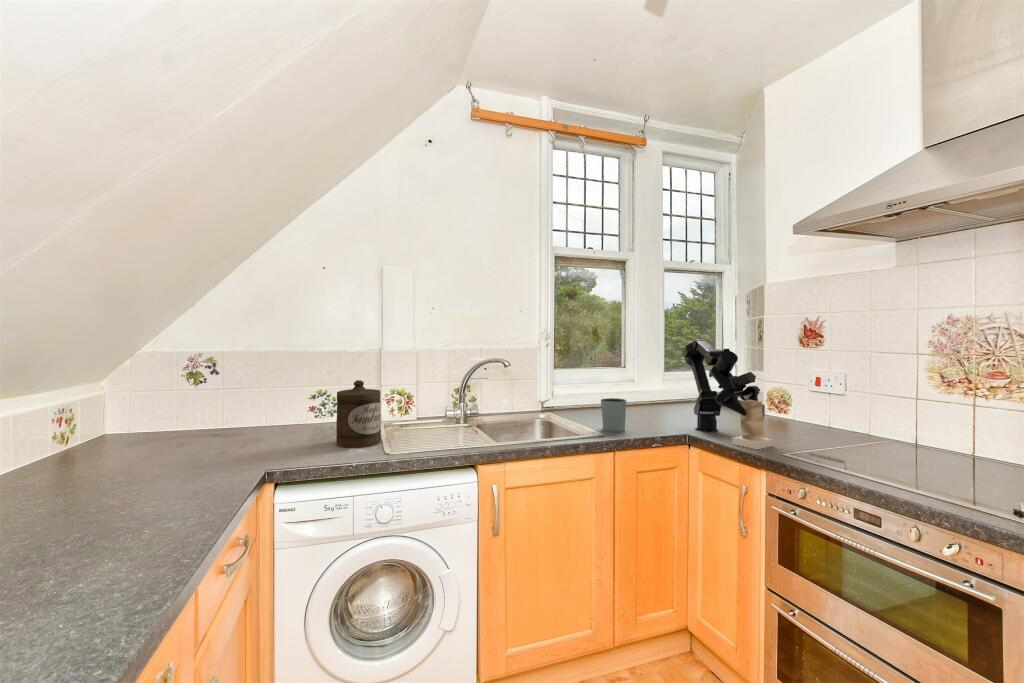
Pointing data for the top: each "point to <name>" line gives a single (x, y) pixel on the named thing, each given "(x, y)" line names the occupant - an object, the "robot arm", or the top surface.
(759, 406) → the oak block
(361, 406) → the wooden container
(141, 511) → the top surface
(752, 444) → the cream base block
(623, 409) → the grey green cup
